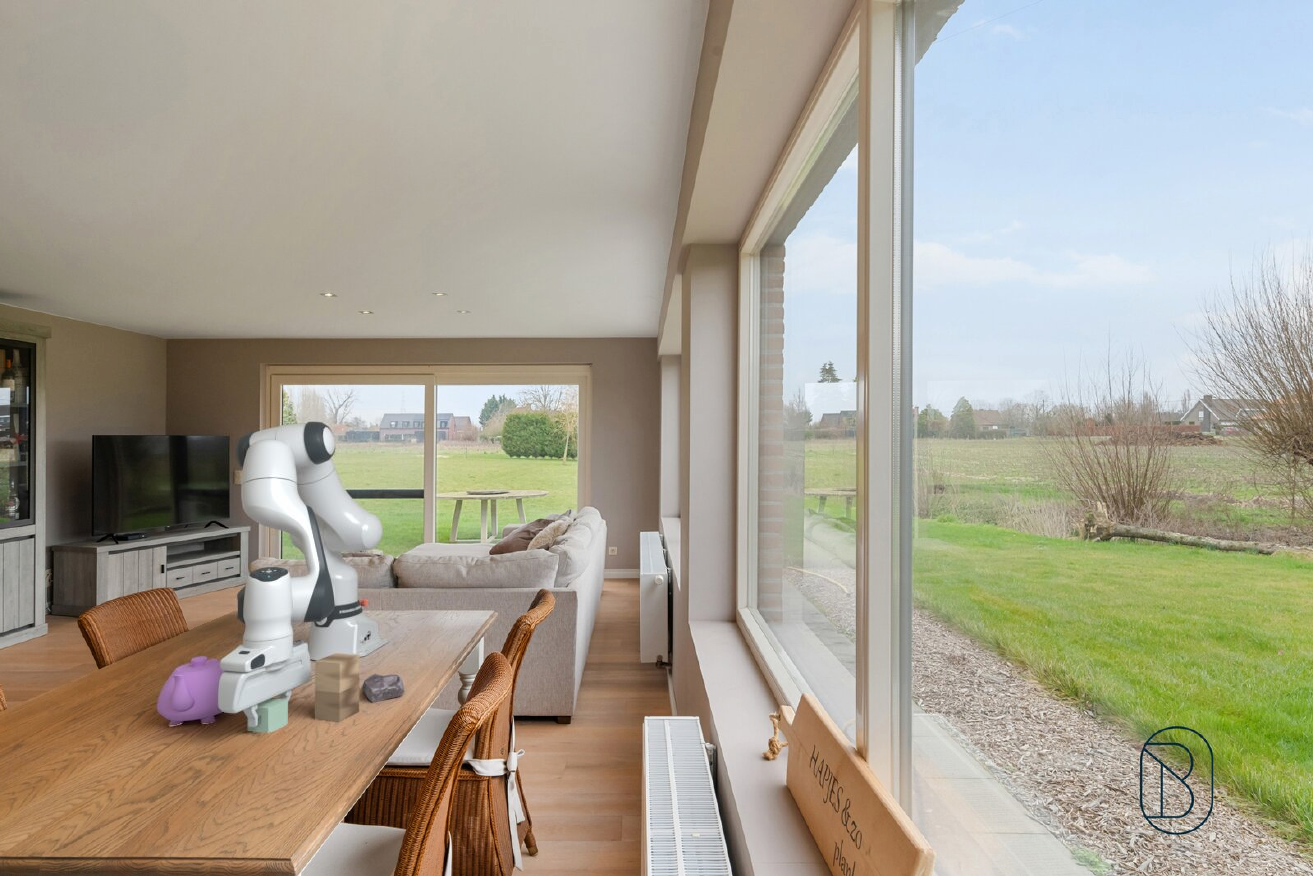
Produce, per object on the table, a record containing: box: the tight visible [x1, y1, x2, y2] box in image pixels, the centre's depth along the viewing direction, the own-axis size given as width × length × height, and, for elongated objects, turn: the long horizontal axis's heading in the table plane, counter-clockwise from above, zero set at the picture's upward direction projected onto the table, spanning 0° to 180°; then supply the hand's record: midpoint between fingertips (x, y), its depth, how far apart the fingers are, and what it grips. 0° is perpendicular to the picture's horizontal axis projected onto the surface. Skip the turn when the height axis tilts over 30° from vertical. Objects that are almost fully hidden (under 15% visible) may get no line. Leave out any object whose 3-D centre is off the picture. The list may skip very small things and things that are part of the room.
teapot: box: [156, 655, 226, 725], centre depth 144 cm, size 20×14×12 cm
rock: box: [361, 673, 406, 704], centre depth 159 cm, size 8×11×5 cm
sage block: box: [247, 697, 289, 734], centre depth 140 cm, size 5×5×5 cm
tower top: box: [314, 653, 360, 693], centre depth 146 cm, size 6×6×6 cm
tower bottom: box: [314, 683, 360, 723], centre depth 146 cm, size 6×6×6 cm
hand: (267, 719), depth 140 cm, fingers closed on sage block, 5 cm apart
